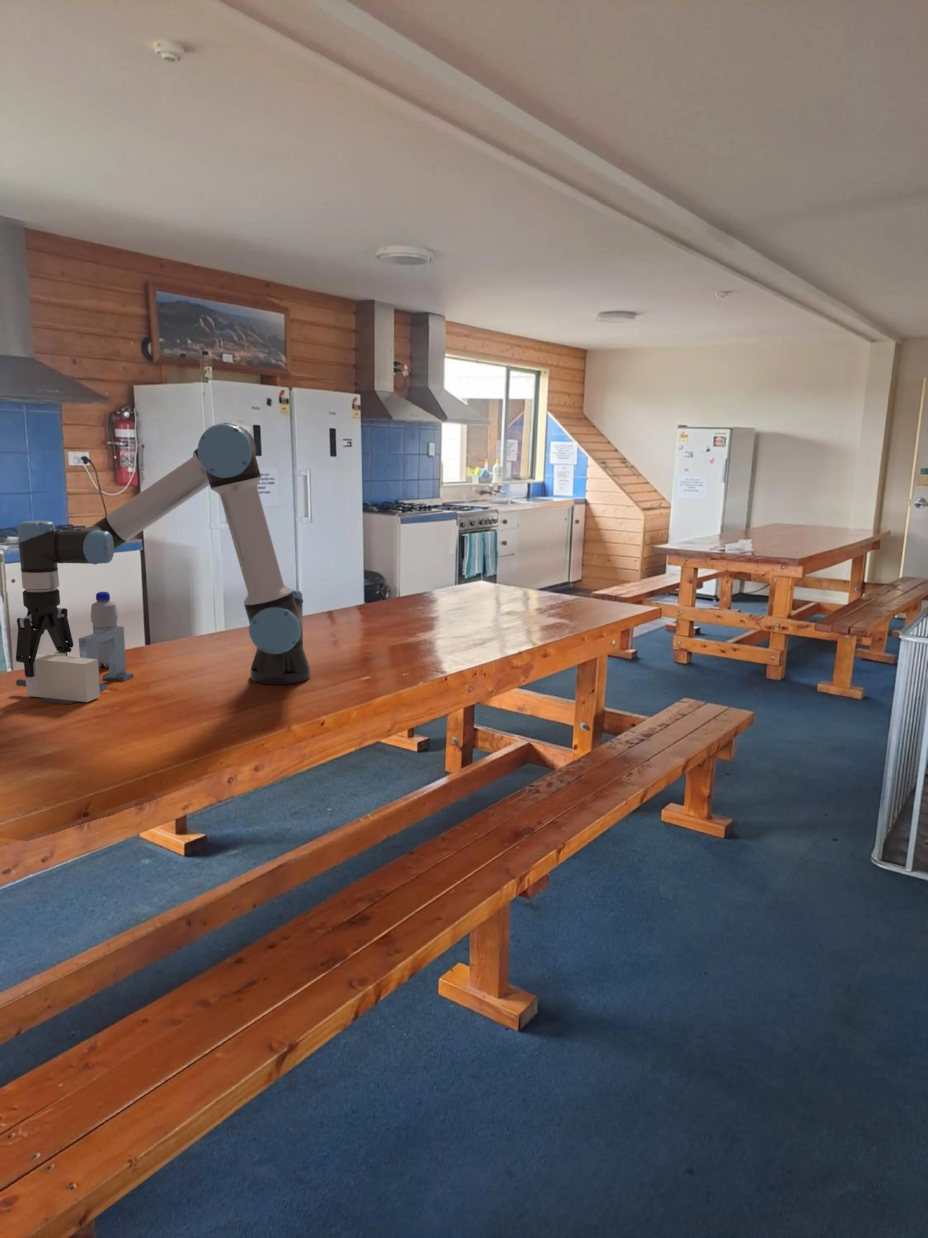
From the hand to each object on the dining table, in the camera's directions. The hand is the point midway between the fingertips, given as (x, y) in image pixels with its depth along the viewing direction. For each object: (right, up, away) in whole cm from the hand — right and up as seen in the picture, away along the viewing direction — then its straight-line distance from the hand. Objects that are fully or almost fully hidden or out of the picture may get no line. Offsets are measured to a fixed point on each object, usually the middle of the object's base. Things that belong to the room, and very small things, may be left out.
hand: (48, 684), depth 196 cm
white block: (+2, -3, 0) cm, 3 cm away
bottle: (+2, +3, +28) cm, 29 cm away
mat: (+4, -3, 0) cm, 5 cm away
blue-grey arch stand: (+8, -1, +12) cm, 14 cm away
